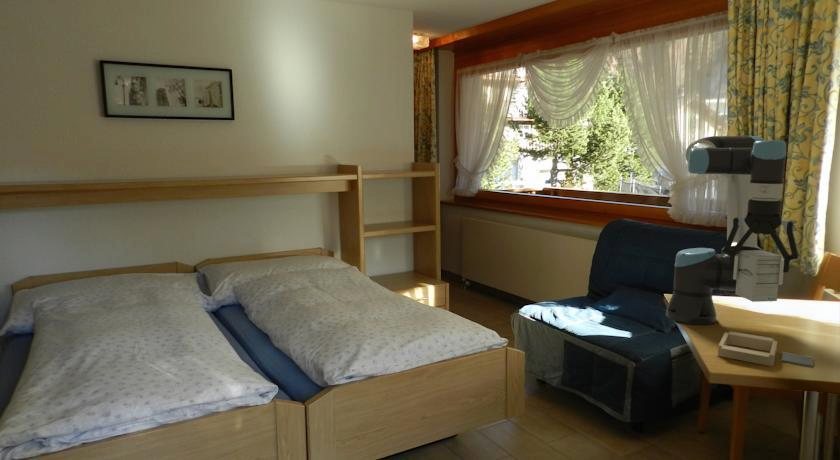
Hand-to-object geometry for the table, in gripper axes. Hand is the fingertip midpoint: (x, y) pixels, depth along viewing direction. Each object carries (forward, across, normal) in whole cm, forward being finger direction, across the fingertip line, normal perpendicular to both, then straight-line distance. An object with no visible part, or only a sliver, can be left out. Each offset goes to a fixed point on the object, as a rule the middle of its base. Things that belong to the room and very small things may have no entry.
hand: (757, 281), depth 153 cm
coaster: (+21, +11, +2) cm, 23 cm away
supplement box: (+5, 0, 0) cm, 5 cm away
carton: (+21, -1, 0) cm, 21 cm away
